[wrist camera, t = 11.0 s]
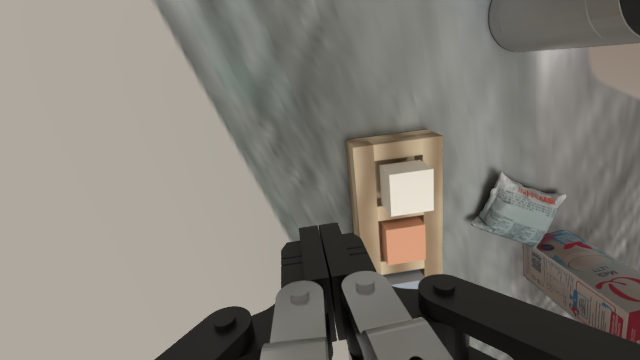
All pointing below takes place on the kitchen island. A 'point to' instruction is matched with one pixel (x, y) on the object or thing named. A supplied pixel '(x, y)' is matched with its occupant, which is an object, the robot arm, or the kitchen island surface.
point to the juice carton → (586, 283)
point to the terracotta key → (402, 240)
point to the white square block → (407, 187)
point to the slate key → (405, 279)
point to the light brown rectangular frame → (367, 193)
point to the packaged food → (518, 212)
